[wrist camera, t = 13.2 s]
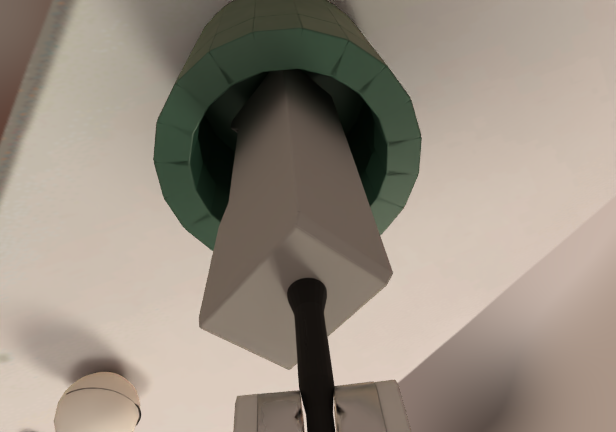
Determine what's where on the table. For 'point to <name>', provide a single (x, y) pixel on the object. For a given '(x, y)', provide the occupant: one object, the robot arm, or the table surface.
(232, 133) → the green hollow cylinder
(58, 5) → the table surface
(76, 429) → the cream domed seamed part
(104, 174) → the table surface
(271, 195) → the vintage mobile phone
